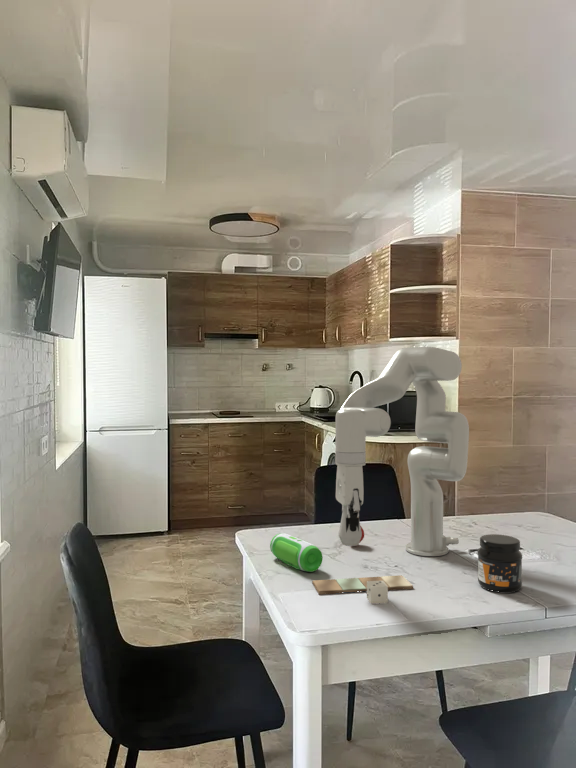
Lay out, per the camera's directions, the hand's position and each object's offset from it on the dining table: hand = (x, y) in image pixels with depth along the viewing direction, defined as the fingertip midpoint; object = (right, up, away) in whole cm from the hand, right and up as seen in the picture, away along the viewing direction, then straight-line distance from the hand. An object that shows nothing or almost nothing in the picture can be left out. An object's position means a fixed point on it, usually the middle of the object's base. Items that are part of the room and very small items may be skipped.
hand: (350, 531), depth 148 cm
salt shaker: (0, -3, 0) cm, 3 cm away
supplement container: (+38, -14, 0) cm, 40 cm away
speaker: (-13, -14, +18) cm, 27 cm away
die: (+5, -14, -9) cm, 18 cm away
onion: (+5, -14, +36) cm, 39 cm away
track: (+3, -14, +1) cm, 14 cm away
